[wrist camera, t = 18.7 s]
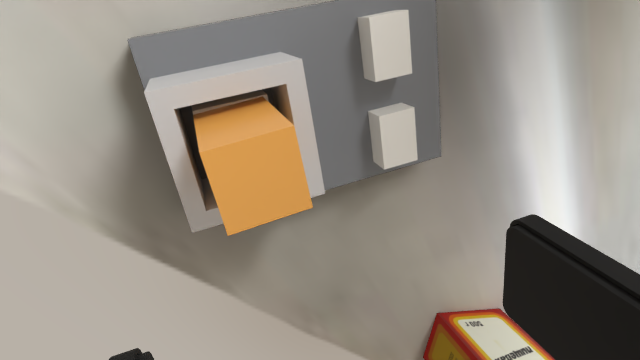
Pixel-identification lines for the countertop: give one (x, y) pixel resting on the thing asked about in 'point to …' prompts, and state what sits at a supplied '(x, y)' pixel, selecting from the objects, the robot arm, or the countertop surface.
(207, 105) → the white cube insert
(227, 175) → the lockout block
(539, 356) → the baking soda box
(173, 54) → the breaker panel
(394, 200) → the countertop surface
